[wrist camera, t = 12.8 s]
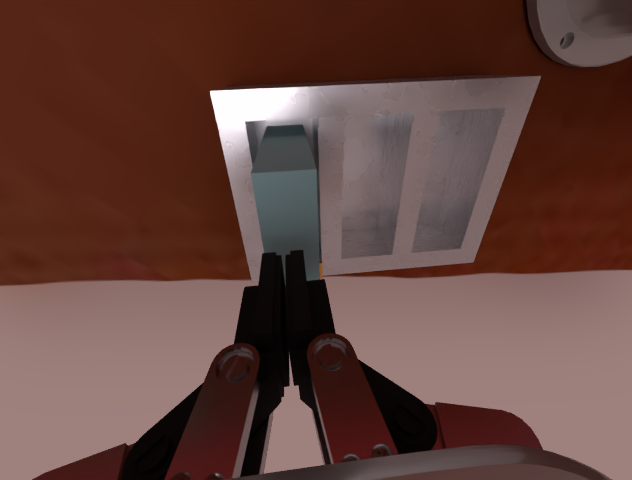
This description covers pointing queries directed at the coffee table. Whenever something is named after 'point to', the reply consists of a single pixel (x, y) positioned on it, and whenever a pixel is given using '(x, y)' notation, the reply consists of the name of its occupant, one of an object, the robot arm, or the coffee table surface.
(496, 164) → the frame
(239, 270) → the coffee table surface
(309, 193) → the panel
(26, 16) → the coffee table surface
